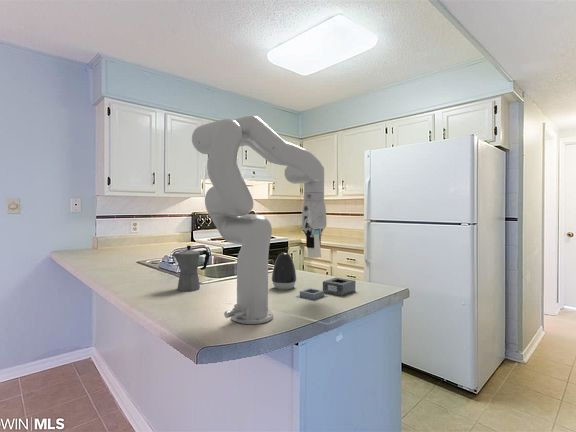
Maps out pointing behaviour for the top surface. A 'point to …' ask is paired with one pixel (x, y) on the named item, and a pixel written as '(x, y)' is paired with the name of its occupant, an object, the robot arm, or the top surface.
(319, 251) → the blue capped white bottle
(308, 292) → the grey square open box
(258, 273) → the robot arm
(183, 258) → the coffeepot
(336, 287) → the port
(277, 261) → the dark egg-shaped speaker
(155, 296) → the top surface
